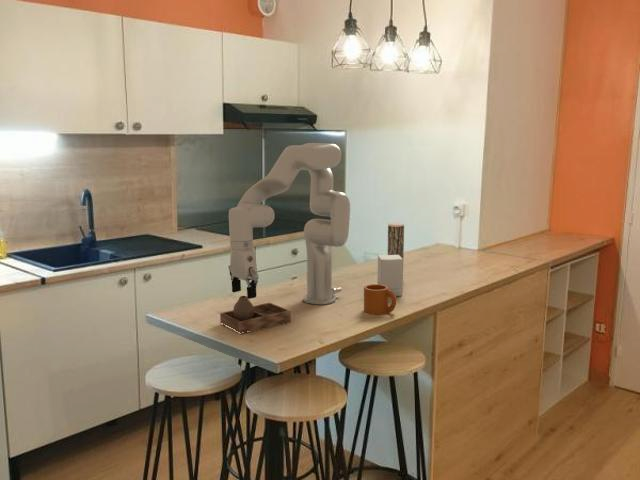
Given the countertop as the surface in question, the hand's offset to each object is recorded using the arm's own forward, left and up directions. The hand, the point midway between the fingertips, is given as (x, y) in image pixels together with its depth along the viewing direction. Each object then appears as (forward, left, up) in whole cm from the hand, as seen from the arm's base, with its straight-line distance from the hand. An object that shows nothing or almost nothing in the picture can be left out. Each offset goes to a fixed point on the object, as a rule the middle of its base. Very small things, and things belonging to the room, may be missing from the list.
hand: (244, 294), depth 204 cm
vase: (0, 0, -10) cm, 10 cm away
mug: (-46, +17, -11) cm, 51 cm away
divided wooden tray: (-4, 0, -11) cm, 12 cm away
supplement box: (-66, +2, -11) cm, 67 cm away
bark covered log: (-81, -10, -11) cm, 83 cm away
